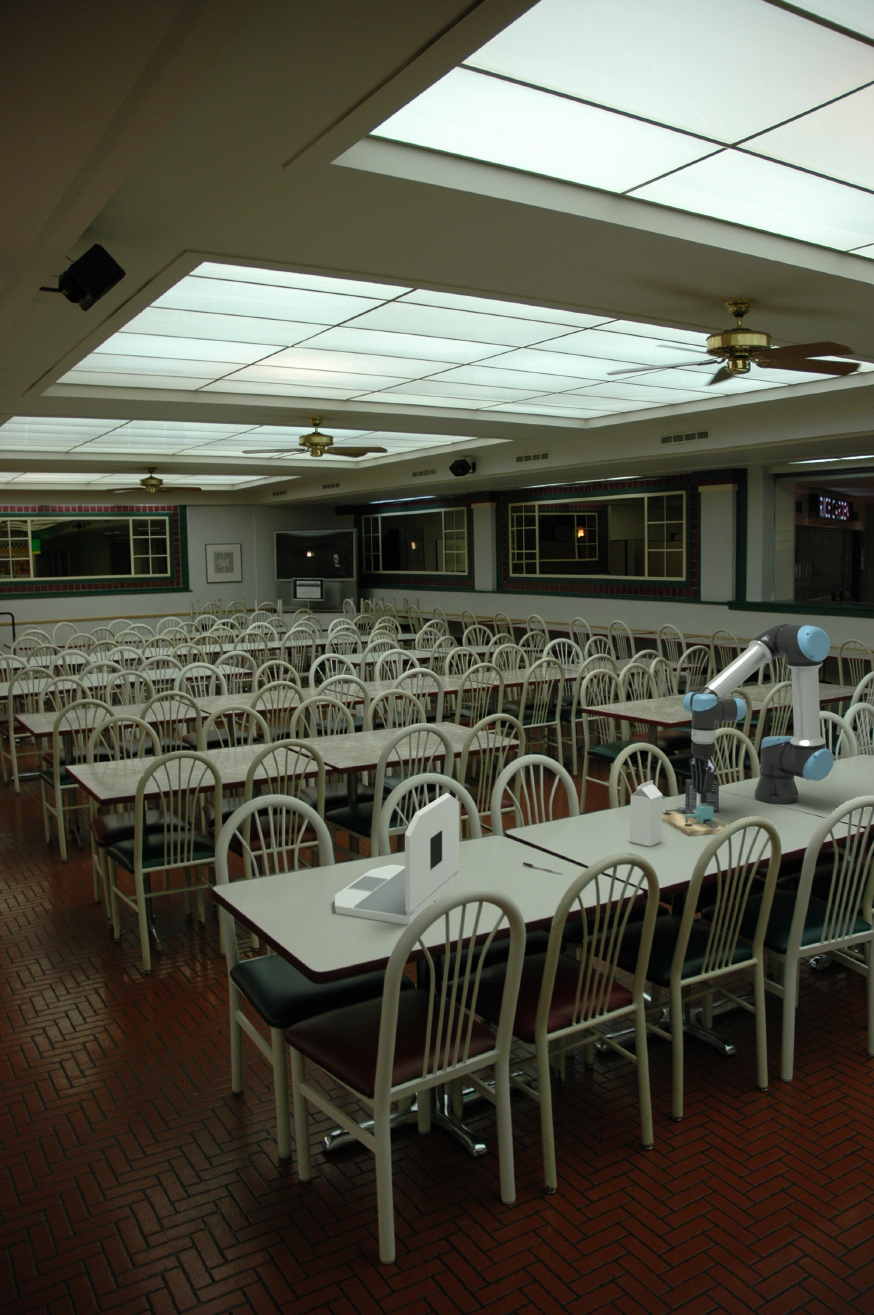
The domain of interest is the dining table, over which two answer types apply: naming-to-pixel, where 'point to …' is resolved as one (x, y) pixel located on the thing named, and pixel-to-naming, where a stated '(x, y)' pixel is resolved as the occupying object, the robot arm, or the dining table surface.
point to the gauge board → (690, 824)
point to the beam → (690, 811)
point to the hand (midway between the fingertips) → (701, 812)
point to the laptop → (410, 869)
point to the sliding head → (702, 813)
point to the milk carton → (646, 815)
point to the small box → (711, 797)
